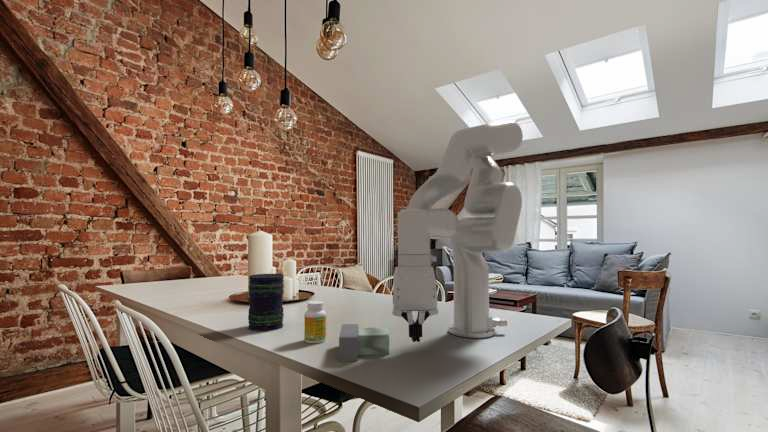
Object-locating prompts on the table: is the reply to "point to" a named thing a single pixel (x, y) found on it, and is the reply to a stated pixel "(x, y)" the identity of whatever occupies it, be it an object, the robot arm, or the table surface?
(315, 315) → the supplement bottle
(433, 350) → the table surface
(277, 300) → the storage jar
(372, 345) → the sage block
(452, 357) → the table surface
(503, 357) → the table surface
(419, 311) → the robot arm
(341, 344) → the gray rectangular block
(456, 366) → the table surface
